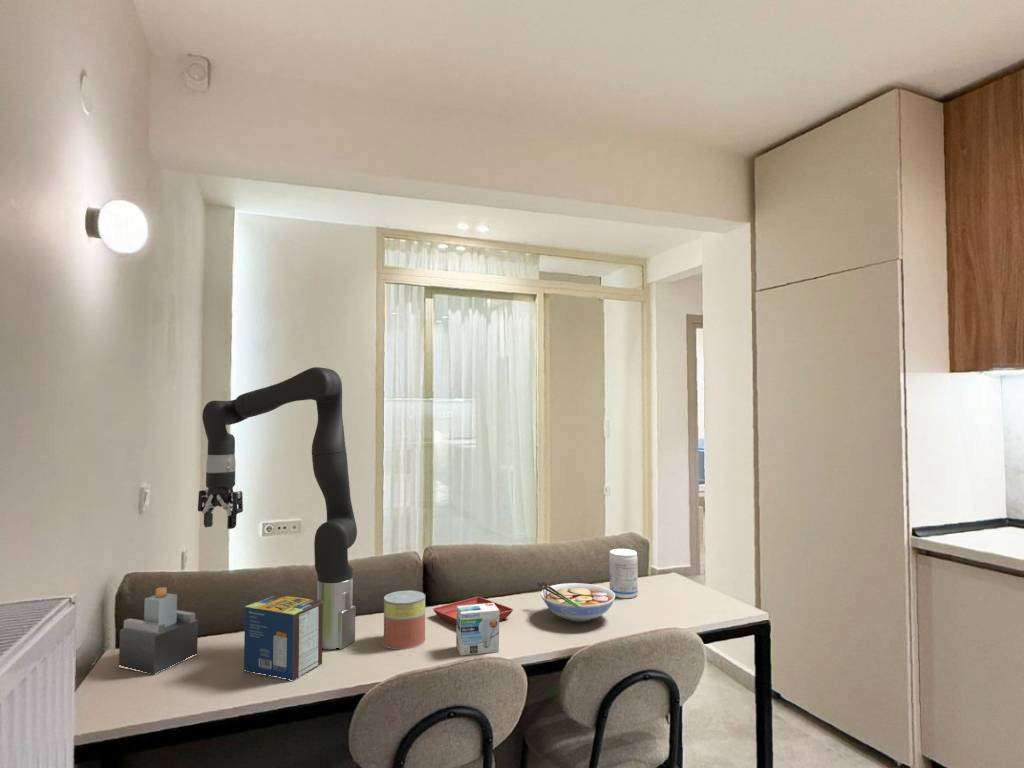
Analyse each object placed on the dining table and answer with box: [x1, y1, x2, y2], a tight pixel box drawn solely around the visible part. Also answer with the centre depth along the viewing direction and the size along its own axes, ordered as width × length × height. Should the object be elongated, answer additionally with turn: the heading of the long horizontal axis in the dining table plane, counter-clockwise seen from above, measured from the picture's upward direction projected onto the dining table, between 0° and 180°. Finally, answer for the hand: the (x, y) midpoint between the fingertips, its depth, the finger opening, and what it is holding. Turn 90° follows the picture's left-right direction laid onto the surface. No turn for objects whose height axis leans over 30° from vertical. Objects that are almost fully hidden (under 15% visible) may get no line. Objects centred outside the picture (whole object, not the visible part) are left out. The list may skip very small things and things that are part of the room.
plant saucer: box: [432, 596, 514, 626], centre depth 176 cm, size 18×18×3 cm
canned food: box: [383, 589, 426, 650], centre depth 159 cm, size 11×11×12 cm
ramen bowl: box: [536, 581, 616, 623], centre depth 176 cm, size 25×23×8 cm
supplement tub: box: [608, 548, 639, 599], centre depth 199 cm, size 10×10×15 cm
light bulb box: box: [455, 603, 500, 656], centre depth 153 cm, size 11×7×11 cm, turn 105°
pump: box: [143, 586, 178, 627], centre depth 146 cm, size 5×5×9 cm
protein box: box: [243, 594, 323, 681], centre depth 142 cm, size 10×15×16 cm
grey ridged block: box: [118, 609, 199, 675], centre depth 146 cm, size 12×12×11 cm
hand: (219, 527), depth 165 cm, fingers open, 8 cm apart
